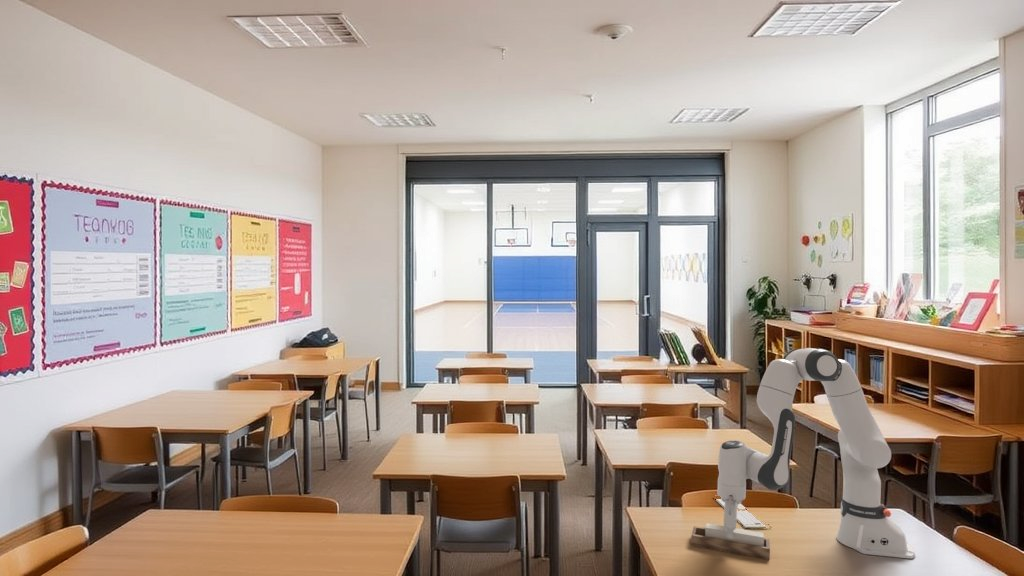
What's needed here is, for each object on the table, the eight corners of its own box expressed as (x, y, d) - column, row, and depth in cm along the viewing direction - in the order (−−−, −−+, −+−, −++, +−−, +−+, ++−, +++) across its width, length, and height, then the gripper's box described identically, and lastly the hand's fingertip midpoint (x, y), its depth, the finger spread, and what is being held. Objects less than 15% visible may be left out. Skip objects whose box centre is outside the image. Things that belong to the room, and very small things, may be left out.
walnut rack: (768, 549, 195) (769, 538, 195) (769, 559, 188) (769, 549, 188) (693, 536, 205) (693, 525, 204) (691, 545, 197) (691, 535, 197)
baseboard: (736, 499, 242) (712, 499, 241) (736, 492, 242) (712, 492, 241) (772, 530, 212) (745, 530, 211) (773, 522, 212) (745, 523, 211)
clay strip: (763, 544, 194) (763, 532, 194) (763, 549, 191) (763, 537, 191) (705, 534, 201) (706, 523, 201) (705, 539, 197) (705, 527, 197)
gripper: (741, 503, 185) (739, 547, 185) (742, 482, 204) (741, 522, 204) (719, 500, 188) (718, 543, 188) (722, 480, 206) (721, 519, 207)
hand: (730, 532), depth 196 cm, fingers open, 8 cm apart
